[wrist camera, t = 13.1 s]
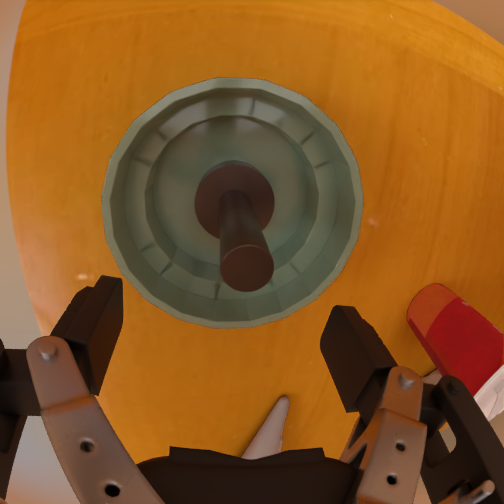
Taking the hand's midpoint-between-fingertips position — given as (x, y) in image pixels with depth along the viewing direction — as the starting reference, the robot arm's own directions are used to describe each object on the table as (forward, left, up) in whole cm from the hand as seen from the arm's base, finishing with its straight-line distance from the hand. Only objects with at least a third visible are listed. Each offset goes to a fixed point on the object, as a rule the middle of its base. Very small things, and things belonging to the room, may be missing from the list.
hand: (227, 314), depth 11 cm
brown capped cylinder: (-1, +1, -12) cm, 12 cm away
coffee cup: (+21, +12, -13) cm, 28 cm away
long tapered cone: (+27, -15, -13) cm, 33 cm away
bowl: (-1, +1, -13) cm, 13 cm away
